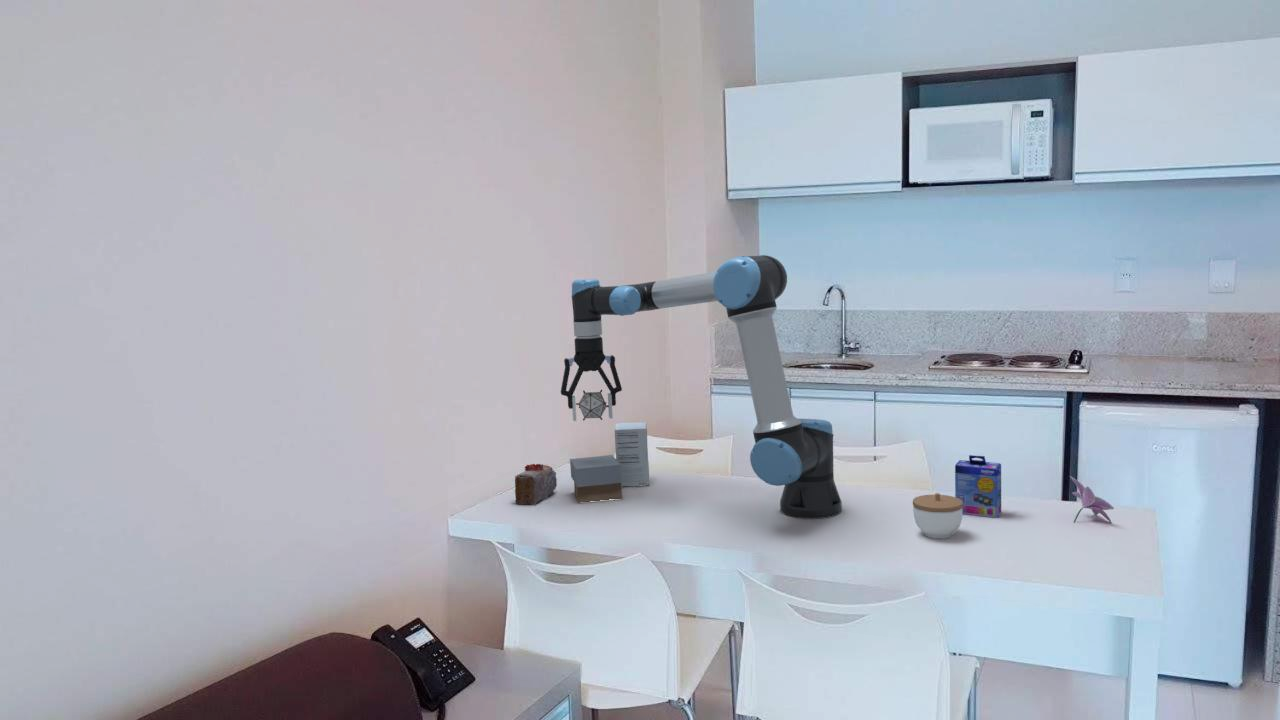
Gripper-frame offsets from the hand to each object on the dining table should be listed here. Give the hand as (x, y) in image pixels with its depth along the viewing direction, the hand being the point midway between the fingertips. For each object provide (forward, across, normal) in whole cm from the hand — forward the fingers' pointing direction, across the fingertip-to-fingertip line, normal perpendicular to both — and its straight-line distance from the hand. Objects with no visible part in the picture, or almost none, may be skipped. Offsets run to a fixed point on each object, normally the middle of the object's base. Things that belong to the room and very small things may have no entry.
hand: (592, 418), depth 248 cm
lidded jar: (+22, -72, +56) cm, 94 cm away
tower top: (+17, 0, 0) cm, 17 cm away
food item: (+22, +16, -3) cm, 28 cm away
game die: (0, 0, 0) cm, 0 cm away
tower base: (+22, 0, 0) cm, 22 cm away
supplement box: (+22, -12, -11) cm, 27 cm away
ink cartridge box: (+22, -88, +44) cm, 101 cm away
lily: (+22, -109, +56) cm, 124 cm away
